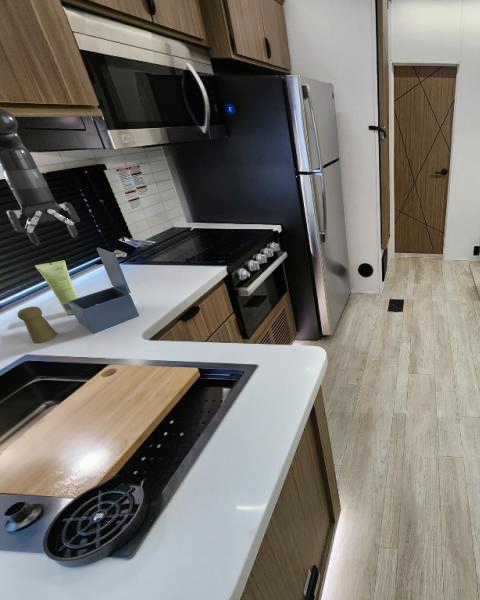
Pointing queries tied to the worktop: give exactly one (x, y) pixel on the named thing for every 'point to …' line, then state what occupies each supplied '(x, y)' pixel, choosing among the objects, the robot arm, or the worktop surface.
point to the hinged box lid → (114, 268)
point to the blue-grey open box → (103, 309)
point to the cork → (36, 325)
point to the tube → (59, 282)
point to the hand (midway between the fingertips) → (57, 240)
